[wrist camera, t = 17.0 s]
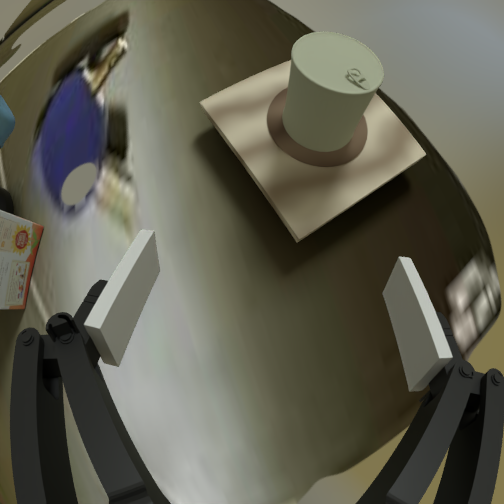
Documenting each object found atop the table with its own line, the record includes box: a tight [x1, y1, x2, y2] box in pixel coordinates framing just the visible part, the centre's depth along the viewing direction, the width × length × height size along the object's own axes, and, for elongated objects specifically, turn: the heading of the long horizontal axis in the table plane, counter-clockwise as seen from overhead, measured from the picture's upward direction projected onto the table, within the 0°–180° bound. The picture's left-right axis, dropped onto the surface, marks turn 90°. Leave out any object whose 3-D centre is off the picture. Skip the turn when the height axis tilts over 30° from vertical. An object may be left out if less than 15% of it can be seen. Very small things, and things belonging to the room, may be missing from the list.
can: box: [282, 32, 384, 152], centre depth 28 cm, size 9×9×12 cm
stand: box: [200, 60, 426, 242], centre depth 37 cm, size 22×22×5 cm
